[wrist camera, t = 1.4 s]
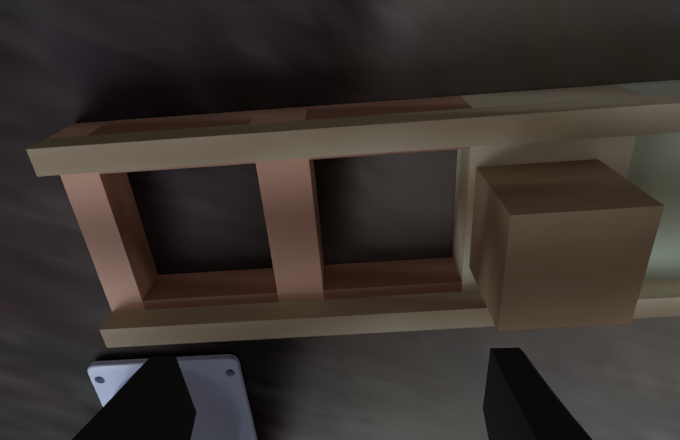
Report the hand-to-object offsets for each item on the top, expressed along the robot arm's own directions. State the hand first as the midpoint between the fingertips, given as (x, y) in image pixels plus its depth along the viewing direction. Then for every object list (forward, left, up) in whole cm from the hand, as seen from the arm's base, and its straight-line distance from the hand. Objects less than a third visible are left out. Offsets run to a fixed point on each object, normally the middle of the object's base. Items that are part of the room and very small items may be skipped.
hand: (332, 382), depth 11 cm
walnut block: (-1, -8, -9) cm, 11 cm away
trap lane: (-1, -5, -11) cm, 12 cm away
